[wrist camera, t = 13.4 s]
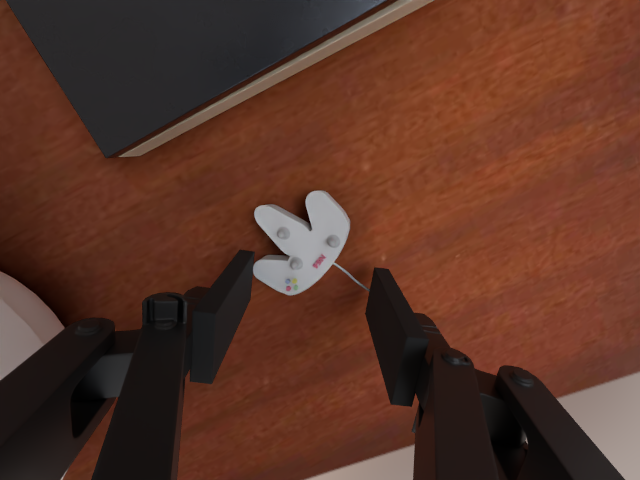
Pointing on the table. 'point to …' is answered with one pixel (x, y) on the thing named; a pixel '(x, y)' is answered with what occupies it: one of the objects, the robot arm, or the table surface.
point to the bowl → (22, 324)
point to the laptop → (286, 71)
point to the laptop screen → (171, 54)
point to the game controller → (302, 243)
